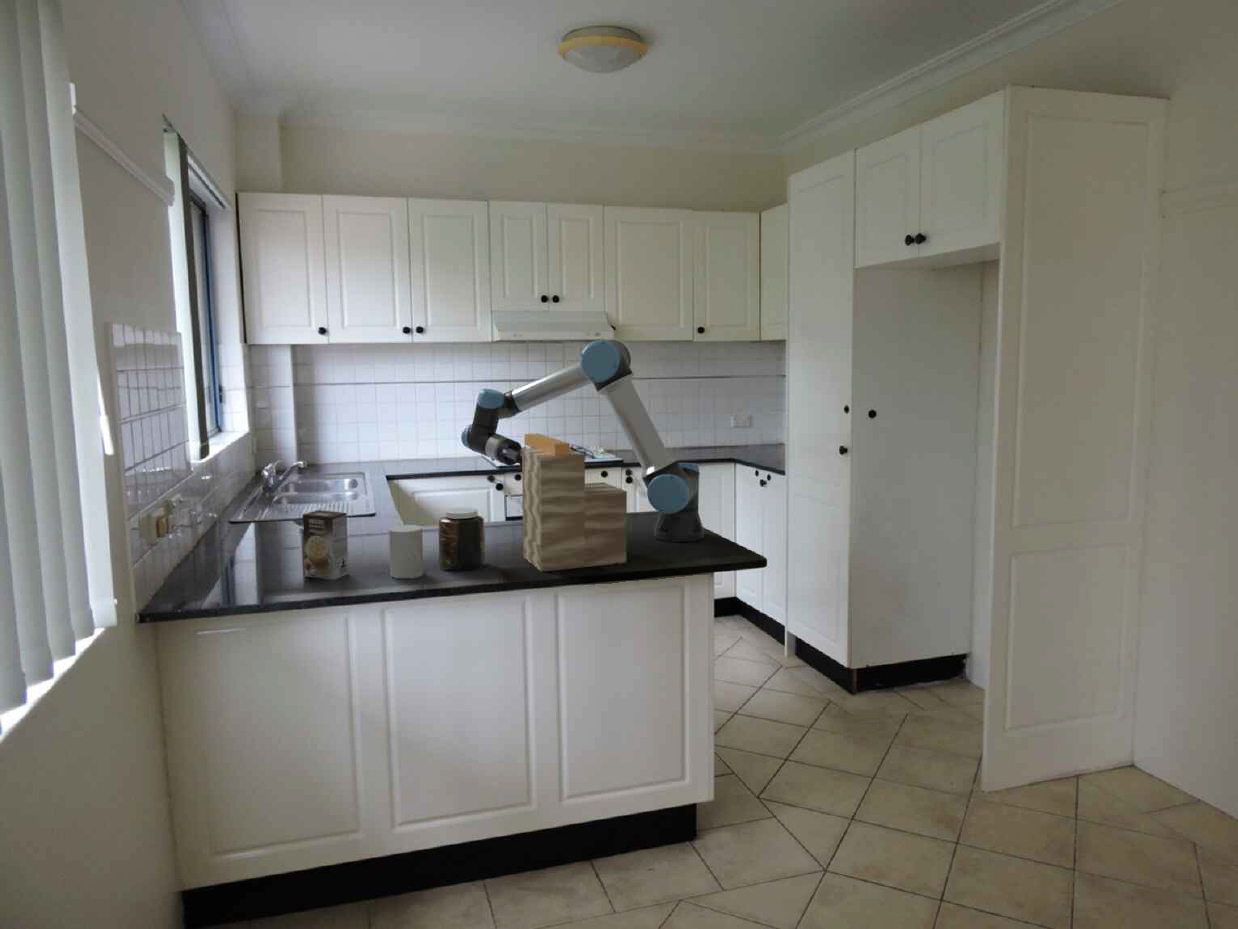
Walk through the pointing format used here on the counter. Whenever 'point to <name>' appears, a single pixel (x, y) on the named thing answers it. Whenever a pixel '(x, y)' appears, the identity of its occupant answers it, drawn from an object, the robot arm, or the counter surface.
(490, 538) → the counter surface
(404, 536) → the cup
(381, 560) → the counter surface
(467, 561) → the jar
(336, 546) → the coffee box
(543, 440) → the orange box
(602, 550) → the wooden stepped block
